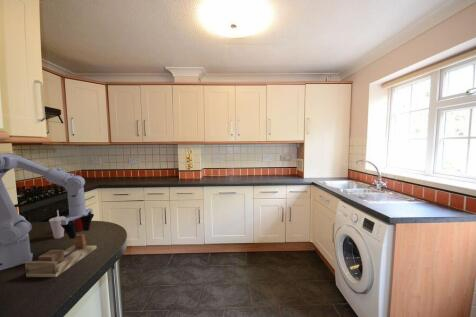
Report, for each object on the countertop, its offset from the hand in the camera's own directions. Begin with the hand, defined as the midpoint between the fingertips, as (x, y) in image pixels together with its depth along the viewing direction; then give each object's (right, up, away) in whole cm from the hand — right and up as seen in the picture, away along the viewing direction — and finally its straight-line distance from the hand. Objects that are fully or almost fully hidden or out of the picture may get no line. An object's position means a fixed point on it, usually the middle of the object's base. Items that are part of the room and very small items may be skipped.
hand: (79, 234), depth 90 cm
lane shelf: (0, -8, -7) cm, 11 cm away
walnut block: (0, -7, -7) cm, 10 cm away
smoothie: (-22, -7, +15) cm, 27 cm away
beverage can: (-18, -6, +24) cm, 31 cm away
